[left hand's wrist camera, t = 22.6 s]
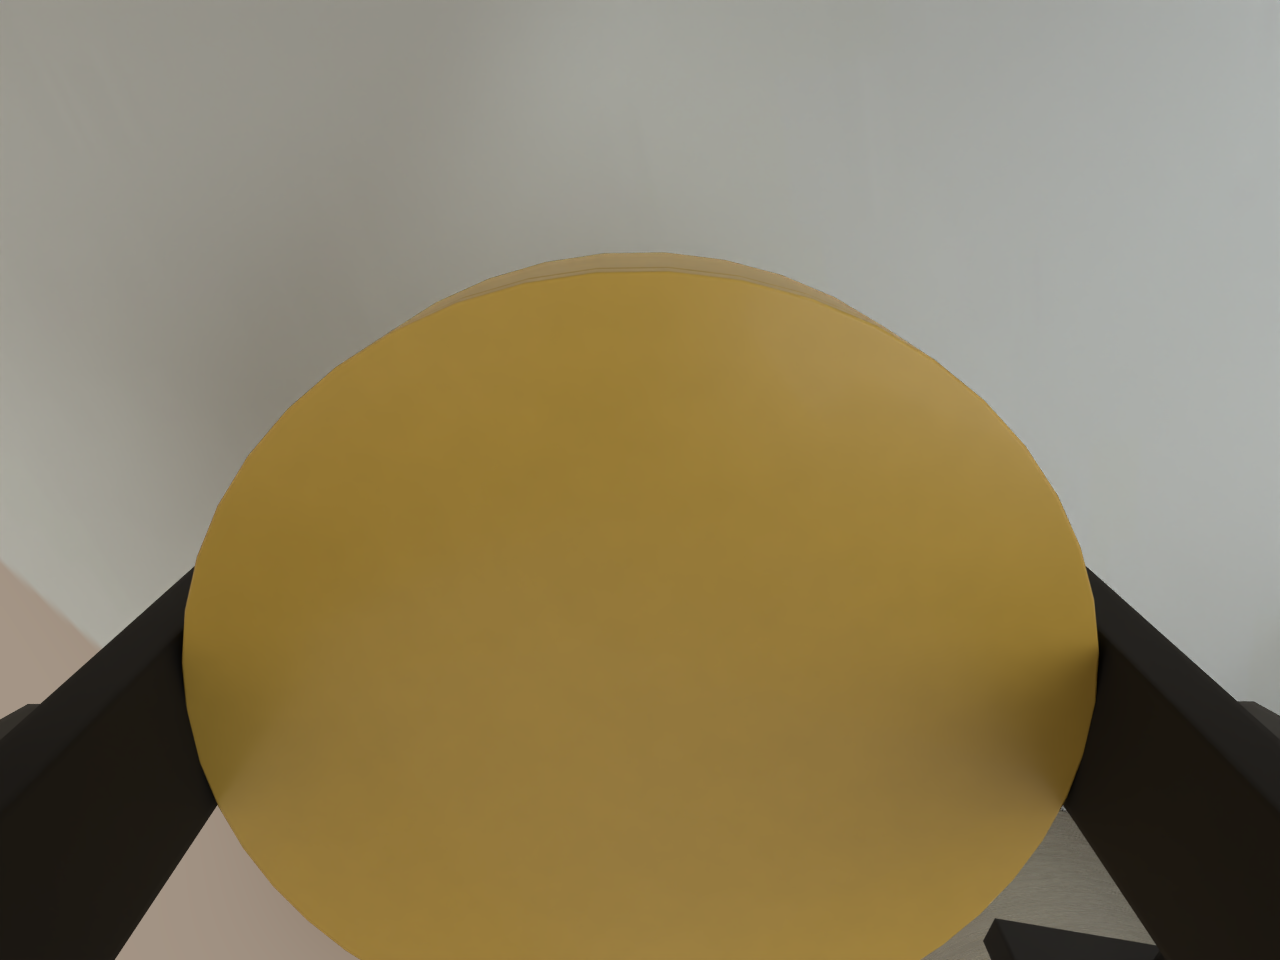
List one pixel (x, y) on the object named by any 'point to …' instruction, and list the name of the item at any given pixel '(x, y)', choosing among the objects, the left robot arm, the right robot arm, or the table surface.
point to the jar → (1054, 897)
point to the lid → (640, 631)
